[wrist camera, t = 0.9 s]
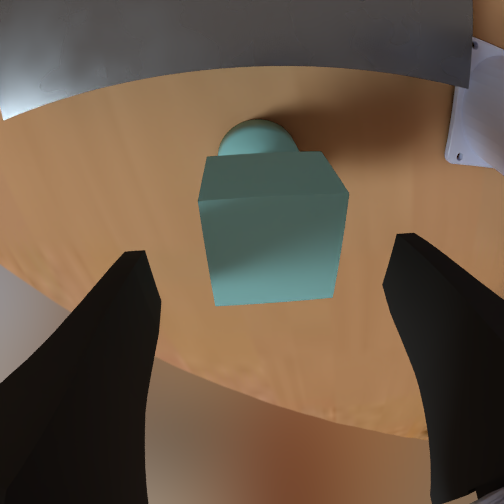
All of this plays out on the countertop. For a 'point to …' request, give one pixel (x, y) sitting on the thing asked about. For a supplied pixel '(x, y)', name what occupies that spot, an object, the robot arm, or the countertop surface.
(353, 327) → the countertop surface
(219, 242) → the peg
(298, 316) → the countertop surface
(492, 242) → the countertop surface
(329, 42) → the keyhole bracket
